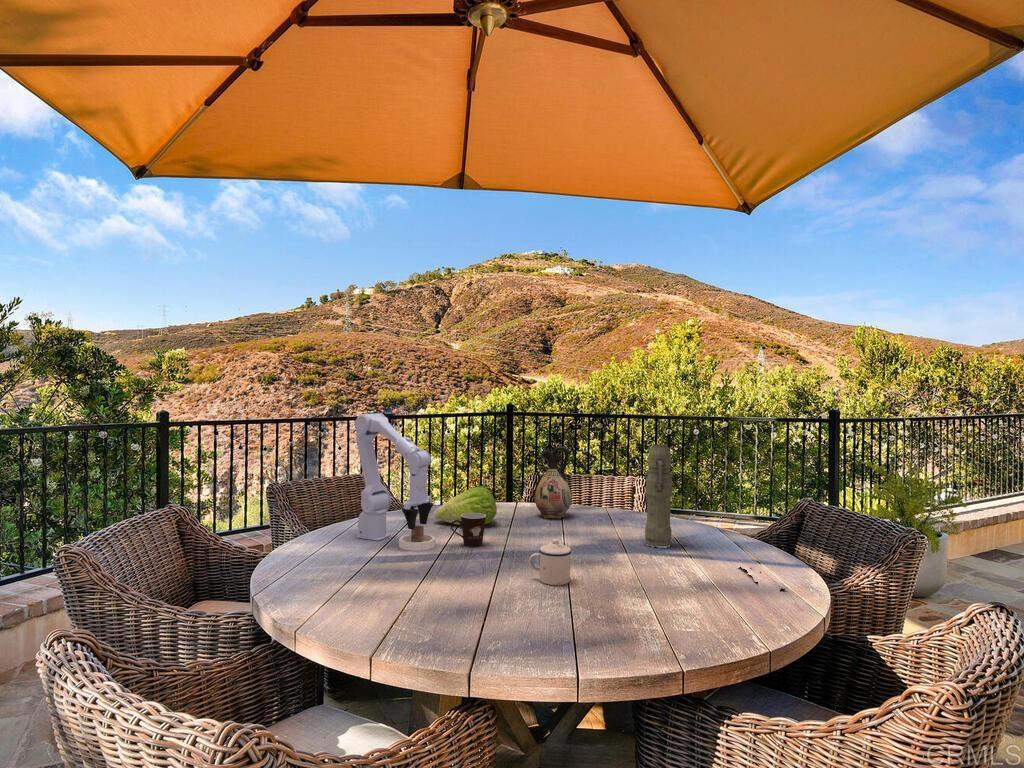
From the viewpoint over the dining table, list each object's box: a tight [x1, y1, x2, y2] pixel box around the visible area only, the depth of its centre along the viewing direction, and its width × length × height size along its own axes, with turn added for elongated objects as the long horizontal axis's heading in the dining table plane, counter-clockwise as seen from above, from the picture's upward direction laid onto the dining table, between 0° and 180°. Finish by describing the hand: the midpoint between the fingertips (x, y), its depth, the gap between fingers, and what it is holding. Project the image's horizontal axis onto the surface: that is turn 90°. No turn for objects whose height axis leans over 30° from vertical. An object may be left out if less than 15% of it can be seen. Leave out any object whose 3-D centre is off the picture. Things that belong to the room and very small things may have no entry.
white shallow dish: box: [398, 533, 436, 552], centre depth 200 cm, size 12×12×2 cm
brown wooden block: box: [410, 524, 425, 542], centre depth 200 cm, size 4×1×6 cm, turn 67°
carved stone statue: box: [644, 444, 673, 546], centre depth 206 cm, size 9×12×35 cm
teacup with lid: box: [528, 538, 572, 586], centre depth 168 cm, size 12×9×12 cm
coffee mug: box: [450, 513, 486, 548], centre depth 203 cm, size 12×9×10 cm
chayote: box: [433, 485, 498, 526], centre depth 233 cm, size 15×24×16 cm
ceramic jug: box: [534, 445, 573, 519], centre depth 247 cm, size 17×15×30 cm
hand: (417, 526), depth 200 cm, fingers open, 7 cm apart
